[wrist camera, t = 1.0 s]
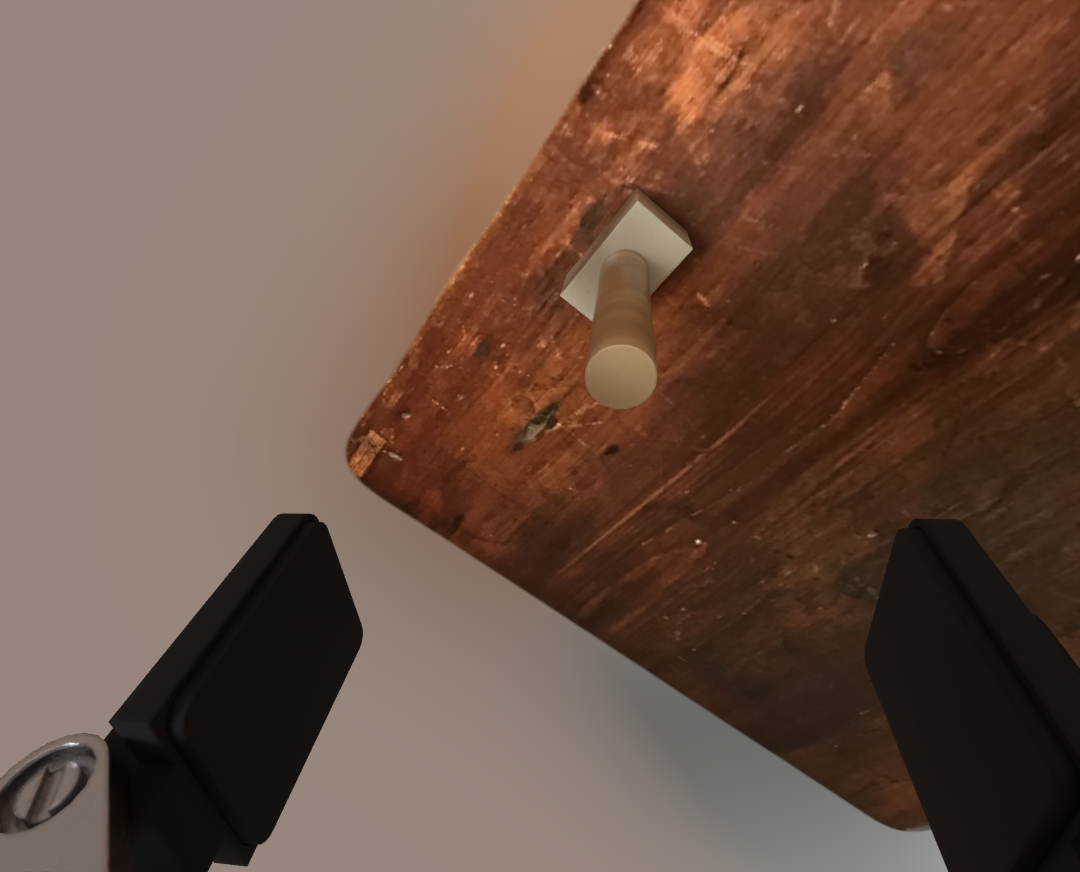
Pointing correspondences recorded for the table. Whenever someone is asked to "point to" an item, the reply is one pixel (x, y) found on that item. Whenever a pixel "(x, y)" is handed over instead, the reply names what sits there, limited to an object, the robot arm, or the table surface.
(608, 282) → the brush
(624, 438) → the table surface
